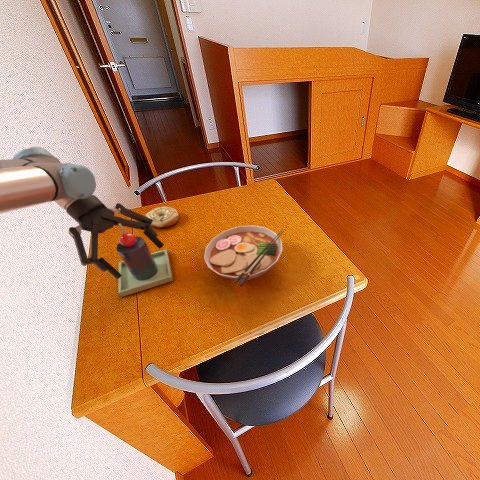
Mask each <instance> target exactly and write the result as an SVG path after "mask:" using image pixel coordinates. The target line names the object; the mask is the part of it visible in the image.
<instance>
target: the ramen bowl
mask: <svg viewBox="0 0 480 480" xmlns="http://www.w3.org/2000/svg"><path fill="white" fill-rule="evenodd" d="M284 232H285V229H284V230H283V229H281V230H280V231H279V232H278V233H276V232H275V231H273V230H271V229H269V228H267V227H266V226H258V225H253V224H252V225H238V226H235V227H232V228H229V229H226V230H223V231H222V232H220V233H219V234H217V235H215V236H214V237H212V238H211V240H210V241H209V243H208V244H207V245H205V249H204V254H203V260H204V262H205V264H206V265H207V268H208V269H210V270H211V271H213V272H215V274H217V275H219V276H220V277H222V278H224V279H228V280H233V284H234V285H237V284H238V282H239V281H240V282H239V287H243V285H244V284H245V283H246V282H247V280H253V279H255V278H258V277H260V276H263V275H265V274H266V273H267V272H269V270H270V269H272V268H273V267H274V266H275V265H276V264H277V262H278V261H279V259H280V256H281V255H282V252H283V241H282V239H281V238H280V236H281V235H282V234H283V233H284Z"/></svg>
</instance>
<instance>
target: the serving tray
mask: <svg viewBox="0 0 480 480" xmlns="http://www.w3.org/2000/svg"><path fill="white" fill-rule="evenodd" d="M151 254H152V256H153V258H154V260H155V262H156V264H157V266H158V272H157V273H156V274H155V275H154V276H153V277H151V278H149V279H147V280H136V279H134V278H133V276H132V275H131V273H130V271H129V270H128V268H127V266H126V265H125V263H124V261H123V260H122V261H118V272H119V273H120V274H121V275H122V276H121V277H120V278H119V279H118V285H117V287H118V288H117V289H118V291H117V292H118V295H119V296H120V297H121V298H122V297H126V296H129V295H132V294H135V293H138V292H142V291H144V290H148V289H151V288H154V287H157V286H160V285H161V286H162V285H164V284H167V283H170V282H173V281H174V280H173V273H172V267H171V263H170V262H171V261H170V257H169V252H168V250H167V249H162V250H159V251H155V252H151Z"/></svg>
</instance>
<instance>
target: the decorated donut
mask: <svg viewBox="0 0 480 480" xmlns="http://www.w3.org/2000/svg"><path fill="white" fill-rule="evenodd" d="M145 216H146V217H148V218H150V219H152V220H153V222H152V223H151V225H150V227H153V228H158V229H159V228H167V227H170V226H173V225H175V224H176V223H177V222H178V220H179V212H178V211H177V209H175V208H174V207H171V206H159V207H155V208H152V209H151V210H150V211H149V212H147V213H146V214H145Z"/></svg>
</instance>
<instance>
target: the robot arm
mask: <svg viewBox="0 0 480 480" xmlns="http://www.w3.org/2000/svg"><path fill="white" fill-rule="evenodd" d="M96 187H97V182H96V177H95V175H94V173H93V172H92V171H91V170H90V169H89V168H88V167H86V166H85V165H82V164H77V163H70V162H65V163H64V162H61V160H59V159H58V158H57V157H55V156H54V155H53V154H52V153H51V152H50V151H49V150H47V148H44V147H41V146H30V147H28V148H22V149H21V150H19V151H17V152H16V153H15V154H14V155H13V156H12V158H11V159H8V158H7V159H0V215H1V214H6V213H10V212H14V211H18V210H23V209H27V208H31V207H35V206H38V205H42V204H43V205H44V204H47V203H52V202H54V203H56V204H57V205H58V206H59V207H60V208H61V209H62V210H65V213H66V214H67V215H69V216H70V218H72V219H73V220H74V221H75V222H76V223H78V225H77V226H69V228H68V234H69V236H70V237H71V238H72V239H73V241H74V242H73V243H74V245H75V248H76V252H77V255H78V258H79V261H80V264H81V266H83V267H86V266H88V265H94V266H95V267H96V268H97V269H99V271H101V272H103V273H105V272H108V273H109V274H110V275H112V276H113V277H114V278H115V279H116V280H119V278H120V277H121V276H122V275H121V274H120V273H119V270H117V269H116V268H115V267H114V266H113V265H111V264H110V262H109V261H107V260H106V259H105V258H104V257H103V256H101V257H99V258H98V256H99V253H98V251H99V234H104V233H106V231H107V230H111V229H113V228H114V226H117V227H119V225H118V224H119V223H120V224H121V225H122V227H126V228H130V229H136V230H141V231H143V232H142V233H143V235H145V236H146V238H148V240H150V241H151V243H153V244H154V245H155V246H156V247H157V248H158V249H159V250H160V249H162V248H163V247H164V246H165V244H164V242H163V241H161V240H160V239H159V237H158V233H157V232H156V231H155V230H154V229H153V228H152V226H151V223H152V222H153V220H152V219H150V218H148V217H146V215H143V214H141V213H139V212H136V211H134V210H132V209H129V208H127V207H125V206H124V205H123V204H121V203H119V202H117V203H115V206H113V207H112V208H109V207H107V205H105V203H104V202H103V201H101V200H100V199H99V198H98V197H97V196H96V195H95V191H96ZM115 213H116V214H118V215H119V214H120V215H122V216H123V217H126V218H122V217H121V216H116V215H115ZM127 218H129V219H127ZM82 230H83V231H85V232H90V257H88V255H87V252H86V249H85V245H84V242H83V238H82V236H81V235H82Z"/></svg>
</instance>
